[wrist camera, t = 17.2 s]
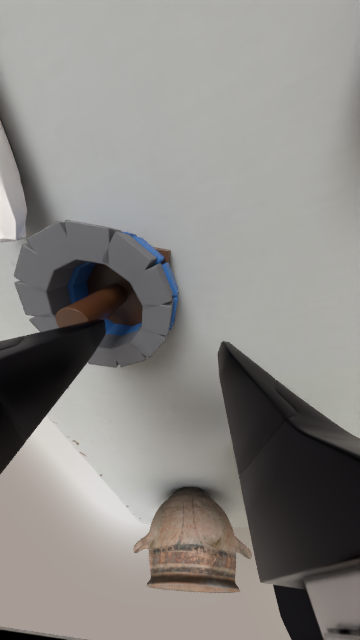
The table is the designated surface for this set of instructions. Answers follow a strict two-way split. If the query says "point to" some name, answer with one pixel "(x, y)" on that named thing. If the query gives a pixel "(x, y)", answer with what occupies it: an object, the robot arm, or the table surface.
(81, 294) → the blue ring
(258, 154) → the table surface
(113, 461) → the table surface
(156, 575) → the cooking pot
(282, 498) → the robot arm
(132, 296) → the peg stand
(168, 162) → the table surface
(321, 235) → the table surface
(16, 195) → the toy fish
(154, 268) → the grey ring
